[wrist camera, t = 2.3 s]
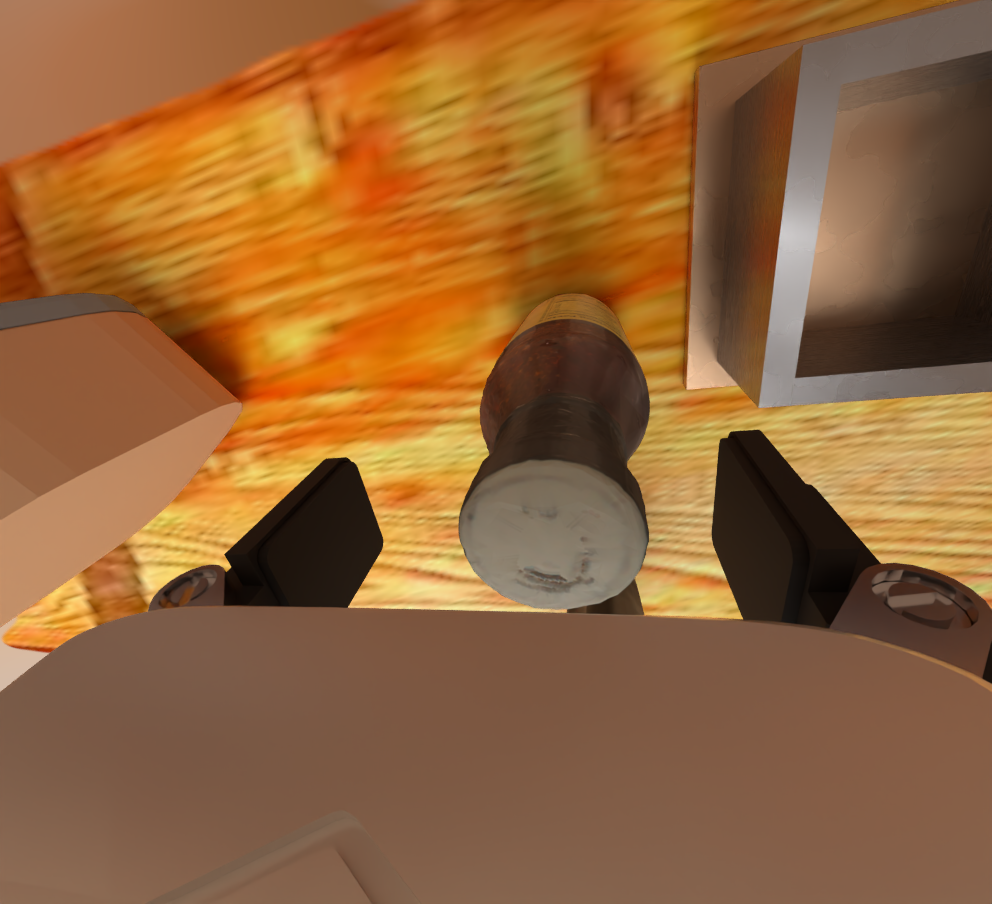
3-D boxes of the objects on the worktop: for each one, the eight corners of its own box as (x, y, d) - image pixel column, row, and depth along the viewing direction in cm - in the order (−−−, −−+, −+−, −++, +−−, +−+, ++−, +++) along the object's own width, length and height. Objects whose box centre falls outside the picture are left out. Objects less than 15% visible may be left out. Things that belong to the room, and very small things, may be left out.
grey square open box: (1130, -37, 16) (1547, -236, 9) (987, 358, 22) (1164, 418, 16) (694, 73, 20) (751, -8, 13) (683, 384, 26) (716, 442, 19)
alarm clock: (168, 275, 29) (-559, 367, 11) (276, 377, 32) (-172, 600, 13) (85, 437, 39) (-384, 638, 20) (173, 508, 41) (-175, 747, 22)
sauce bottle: (577, 407, 28) (558, 695, 11) (501, 351, 27) (353, 567, 10) (649, 326, 25) (778, 555, 8) (565, 260, 24) (504, 354, 7)
